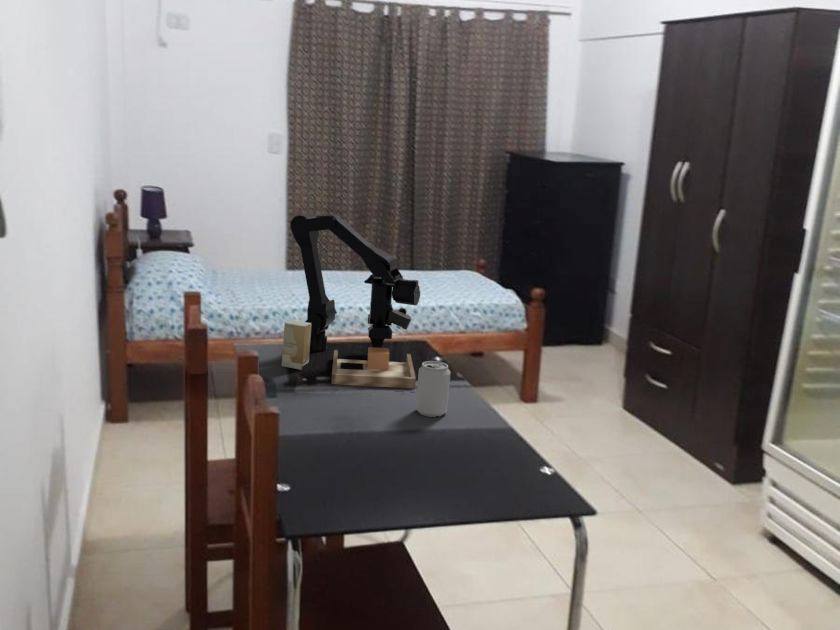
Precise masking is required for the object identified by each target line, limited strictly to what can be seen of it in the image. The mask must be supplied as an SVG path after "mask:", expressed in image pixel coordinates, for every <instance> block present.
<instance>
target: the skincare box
mask: <svg viewBox="0 0 840 630" xmlns="http://www.w3.org/2000/svg"><path fill="white" fill-rule="evenodd" d="M311 326H312V323H307V322H305V321H302V320H294V319H290V320H287V321H285V322H284V327H283V329H284V330H283V340H282V343H283V344H282V354H281V355H282V356H281V367H283V368H284V367H285V368H291V369H295V370H300V371H301V370H303V367H304V366H305V365H306V364H308V363H309V361H310V352H311V351H310V338H311Z"/></svg>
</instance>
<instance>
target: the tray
mask: <svg viewBox="0 0 840 630" xmlns="http://www.w3.org/2000/svg"><path fill="white" fill-rule="evenodd" d="M338 355H339V351H338V349H334V351H333V361H332V370H331V371H332V372H331V382H330V383H331V385H345V386H364V387H379V388H380V387H381V388H384V387H385V388H403V389H415V388H416V381H417V380H416V379H417V378H416V373H415V368H414V364H413V363H414V362H413V360H412V355H411V353H407V354H406V361H405V362H399V361H389V367H388V370H379V369H368V360H363V359H362V360H361V359H344V358H338ZM342 363H344V364H345V363H346V364H347V363H348V364H362V369H351V368H350V369H348V368H347V369H346V368H341V366H342ZM357 389H358V388H357ZM357 391H363V389H361V388H359V389H358V390H357ZM394 391H395V393H403V391H401V390H400V391H399V390H394ZM411 393H416V392H415V391H411Z"/></svg>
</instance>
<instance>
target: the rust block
mask: <svg viewBox="0 0 840 630" xmlns="http://www.w3.org/2000/svg"><path fill="white" fill-rule="evenodd" d="M367 351H368V352H367V361H368V369H379V370H388V367H389V362H390V349H389V348H388V347H382V348H376V347H373V346H372V347H371V346H368V350H367Z"/></svg>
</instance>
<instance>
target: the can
mask: <svg viewBox="0 0 840 630" xmlns="http://www.w3.org/2000/svg"><path fill="white" fill-rule="evenodd" d="M417 376H418V378H417V388H416V389H417V390H416V401H415V409H416V411H417V412H418V413H419V414H420V415H421V416H425V417H429V418H430V417H431V418H437V417H436V416H438V417H441V416H444V414H446V413H447V411H448V407H449V406H448V405H449V404H448V402H449V393H450V382H451V370H450V369H449V365H448V364H447V363H445V362H443V361H438V360H428V361H423V362H422V363H421V366H420V368H418V375H417Z"/></svg>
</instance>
